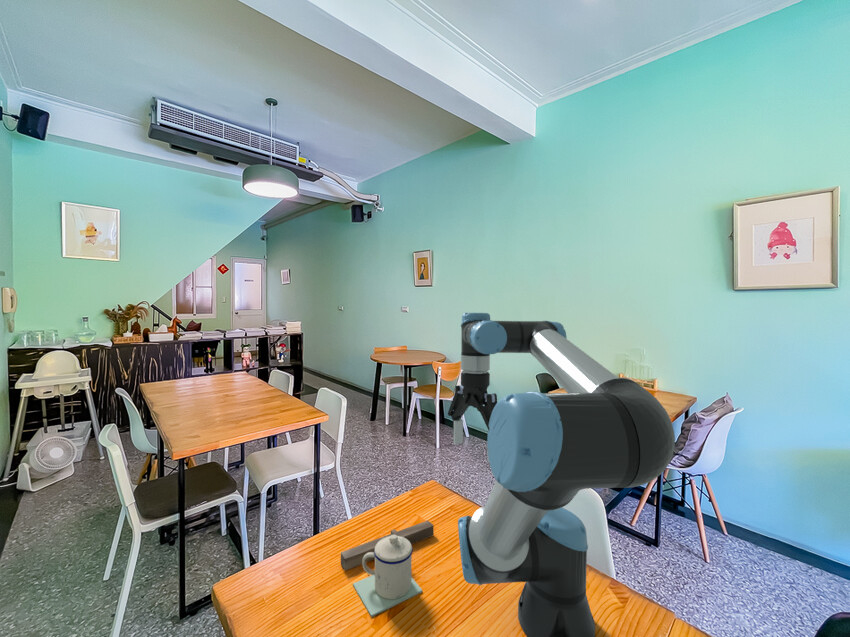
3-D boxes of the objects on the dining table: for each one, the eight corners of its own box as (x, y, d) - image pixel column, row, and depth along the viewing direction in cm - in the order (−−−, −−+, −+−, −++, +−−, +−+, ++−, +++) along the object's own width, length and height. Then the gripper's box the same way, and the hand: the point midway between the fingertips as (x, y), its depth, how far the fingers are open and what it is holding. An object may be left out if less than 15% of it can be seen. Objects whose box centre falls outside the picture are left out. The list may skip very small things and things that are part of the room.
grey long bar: (443, 545, 99) (443, 523, 99) (352, 583, 84) (352, 558, 84) (427, 530, 106) (428, 510, 106) (340, 563, 91) (340, 540, 91)
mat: (422, 591, 82) (422, 590, 82) (371, 617, 75) (371, 615, 75) (400, 564, 91) (400, 563, 91) (352, 585, 84) (352, 583, 84)
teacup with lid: (414, 573, 87) (414, 526, 87) (409, 602, 78) (409, 550, 78) (367, 569, 89) (367, 523, 88) (356, 598, 79) (357, 546, 79)
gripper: (521, 377, 84) (520, 465, 84) (457, 364, 105) (456, 435, 105) (499, 379, 80) (497, 472, 80) (436, 366, 101) (435, 439, 101)
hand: (474, 451), depth 93 cm, fingers open, 13 cm apart
